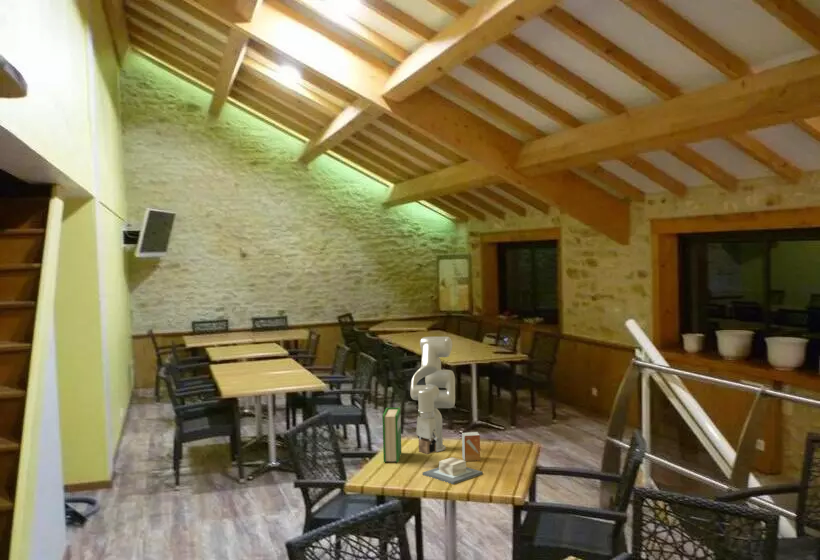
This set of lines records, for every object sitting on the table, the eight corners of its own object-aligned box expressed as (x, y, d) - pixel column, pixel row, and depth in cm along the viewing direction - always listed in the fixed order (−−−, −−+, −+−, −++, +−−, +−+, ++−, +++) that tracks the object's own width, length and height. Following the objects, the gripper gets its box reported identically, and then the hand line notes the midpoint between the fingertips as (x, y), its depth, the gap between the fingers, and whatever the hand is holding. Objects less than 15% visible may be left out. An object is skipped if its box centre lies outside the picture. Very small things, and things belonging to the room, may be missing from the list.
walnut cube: (418, 451, 342) (418, 439, 342) (427, 448, 346) (427, 437, 346) (427, 454, 338) (427, 442, 337) (436, 451, 342) (435, 439, 342)
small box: (464, 461, 349) (464, 435, 348) (462, 457, 355) (461, 432, 355) (480, 460, 350) (480, 434, 349) (477, 456, 356) (477, 431, 356)
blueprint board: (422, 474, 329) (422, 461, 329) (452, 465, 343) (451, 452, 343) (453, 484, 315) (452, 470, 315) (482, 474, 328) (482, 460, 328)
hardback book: (398, 463, 349) (397, 415, 348) (383, 463, 350) (382, 415, 349) (401, 452, 367) (400, 407, 366) (387, 452, 367) (386, 407, 366)
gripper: (408, 412, 344) (409, 448, 346) (433, 419, 332) (434, 456, 333) (419, 409, 350) (420, 444, 351) (444, 415, 337) (445, 452, 338)
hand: (427, 449), depth 342 cm, fingers closed on walnut cube, 6 cm apart
